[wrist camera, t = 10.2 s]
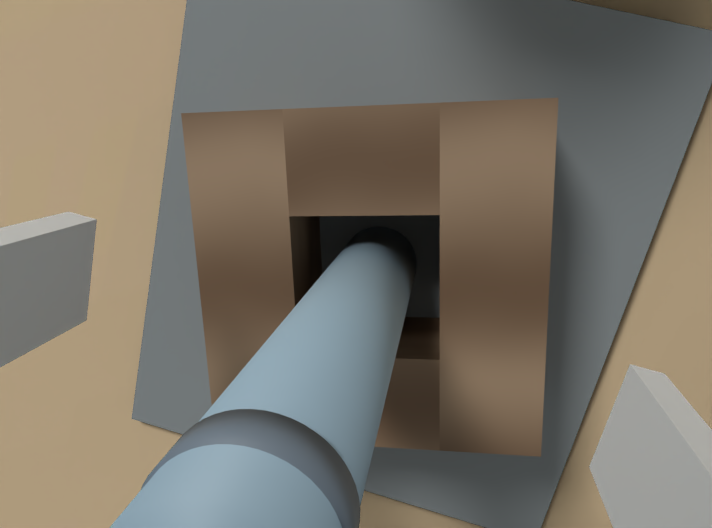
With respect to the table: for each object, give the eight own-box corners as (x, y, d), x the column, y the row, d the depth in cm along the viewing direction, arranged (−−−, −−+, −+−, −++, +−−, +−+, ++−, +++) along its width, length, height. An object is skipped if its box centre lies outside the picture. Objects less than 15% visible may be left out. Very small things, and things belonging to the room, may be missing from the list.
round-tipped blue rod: (351, 216, 21) (96, 463, 6) (427, 236, 21) (359, 547, 6) (335, 287, 22) (73, 666, 7) (407, 307, 22) (303, 748, 7)
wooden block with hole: (230, 114, 21) (181, 113, 17) (537, 102, 19) (558, 97, 15) (253, 386, 24) (214, 437, 20) (525, 398, 22) (541, 456, 18)
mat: (202, -75, 20) (197, -79, 20) (724, 35, 18) (730, 34, 18) (136, 414, 26) (131, 418, 25) (533, 536, 24) (535, 542, 23)
